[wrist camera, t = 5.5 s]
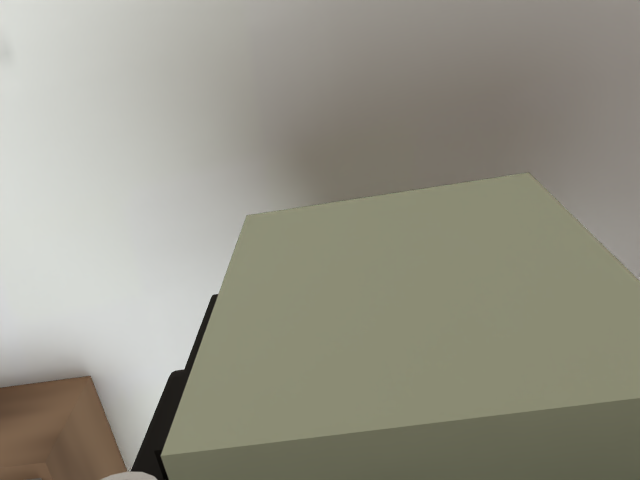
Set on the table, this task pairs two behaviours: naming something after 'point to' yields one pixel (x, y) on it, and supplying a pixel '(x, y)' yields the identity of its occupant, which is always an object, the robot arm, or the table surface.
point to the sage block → (417, 345)
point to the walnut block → (56, 432)
